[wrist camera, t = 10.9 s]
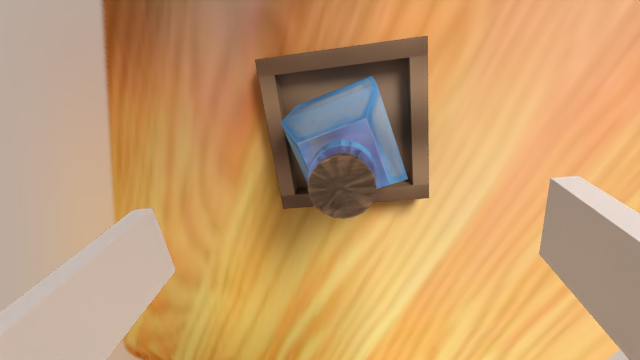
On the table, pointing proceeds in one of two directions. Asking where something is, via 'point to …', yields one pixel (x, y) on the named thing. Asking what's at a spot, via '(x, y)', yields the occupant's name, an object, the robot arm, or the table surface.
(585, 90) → the table surface
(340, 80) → the walnut tray
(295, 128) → the perfume bottle
